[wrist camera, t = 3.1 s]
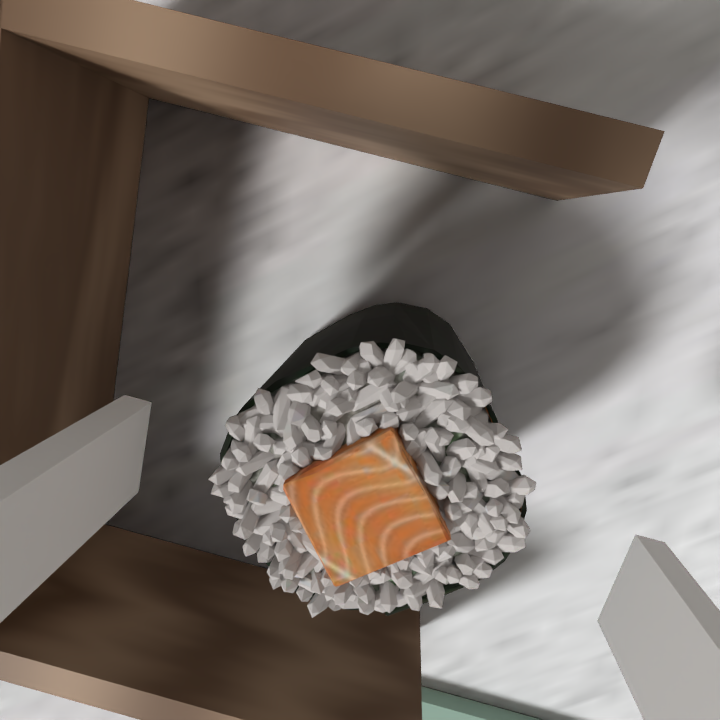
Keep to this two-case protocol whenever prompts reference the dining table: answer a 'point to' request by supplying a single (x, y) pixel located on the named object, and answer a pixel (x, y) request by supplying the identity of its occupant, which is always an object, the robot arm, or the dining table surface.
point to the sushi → (375, 468)
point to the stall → (105, 316)
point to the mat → (462, 708)
